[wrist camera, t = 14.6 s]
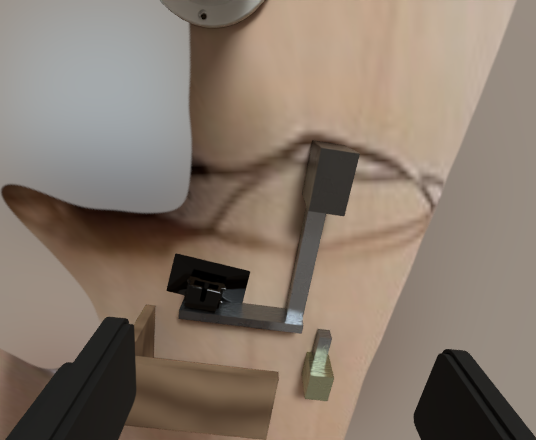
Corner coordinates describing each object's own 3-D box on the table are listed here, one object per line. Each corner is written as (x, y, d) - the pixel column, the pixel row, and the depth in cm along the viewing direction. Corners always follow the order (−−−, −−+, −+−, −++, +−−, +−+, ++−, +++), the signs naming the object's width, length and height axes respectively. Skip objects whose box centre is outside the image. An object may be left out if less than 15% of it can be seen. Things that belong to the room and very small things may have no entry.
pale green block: (312, 328, 42) (317, 350, 39) (334, 331, 43) (341, 353, 39) (301, 374, 45) (304, 398, 41) (322, 376, 45) (327, 401, 42)
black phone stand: (263, 266, 40) (263, 286, 36) (249, 313, 42) (247, 337, 38) (165, 242, 39) (152, 260, 34) (155, 292, 41) (142, 314, 37)
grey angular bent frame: (197, 122, 33) (183, 126, 28) (344, 145, 34) (359, 153, 28) (184, 303, 41) (171, 335, 35) (304, 318, 42) (310, 352, 36)
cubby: (145, 304, 41) (112, 361, 32) (276, 320, 42) (278, 379, 33) (144, 359, 44) (113, 424, 35) (266, 373, 45) (266, 439, 36)
